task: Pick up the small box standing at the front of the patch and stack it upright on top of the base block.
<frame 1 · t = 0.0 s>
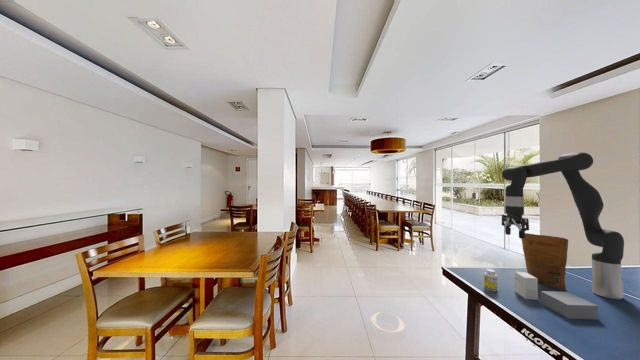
hand: (514, 236, 116), 29 cm above the table, fingers open, 8 cm apart
base block: (567, 311, 99), on the table
pancake mix bag: (544, 284, 126), on the table
supplement bottle: (490, 289, 119), on the table
small box: (525, 296, 113), on the table
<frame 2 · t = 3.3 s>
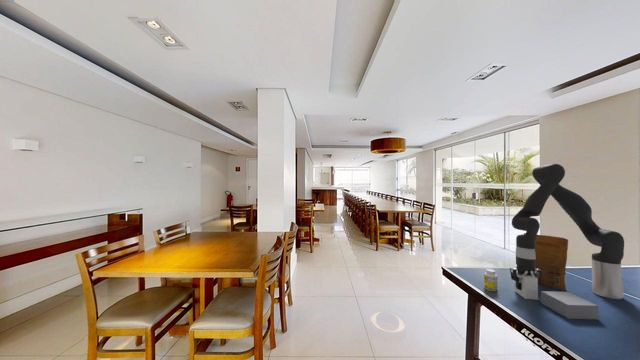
hand: (525, 289, 113), 3 cm above the table, fingers closed on small box, 6 cm apart
small box: (525, 296, 113), on the table, touching gripper
everything else where it was.
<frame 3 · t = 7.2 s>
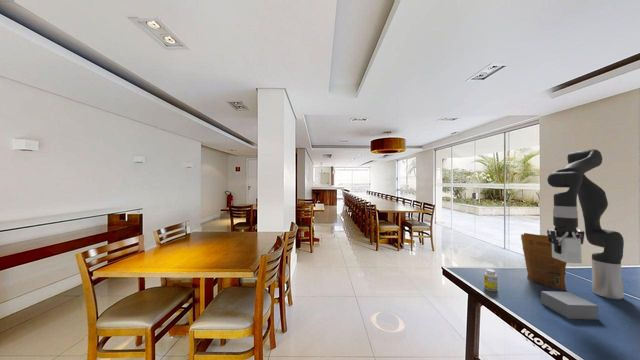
hand: (565, 253, 100), 25 cm above the table, fingers closed on small box, 6 cm apart
small box: (566, 260, 100), point 22 cm above the table, touching gripper
everything else where it was.
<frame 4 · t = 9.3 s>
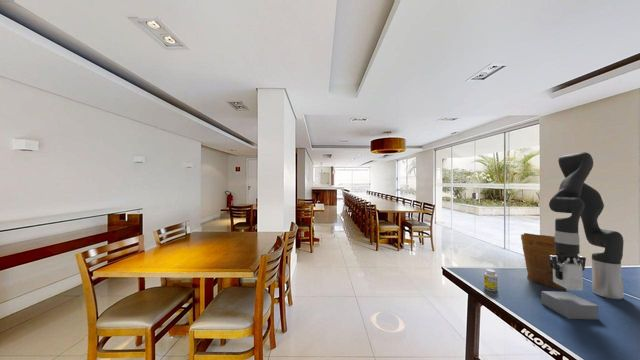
hand: (567, 279, 100), 14 cm above the table, fingers closed on small box, 6 cm apart
small box: (567, 286, 100), point 11 cm above the table, touching gripper
everything else where it was.
when the fingers open (11 cm above the table, at t = 10.9 s): small box drops 2 cm, resting on base block.
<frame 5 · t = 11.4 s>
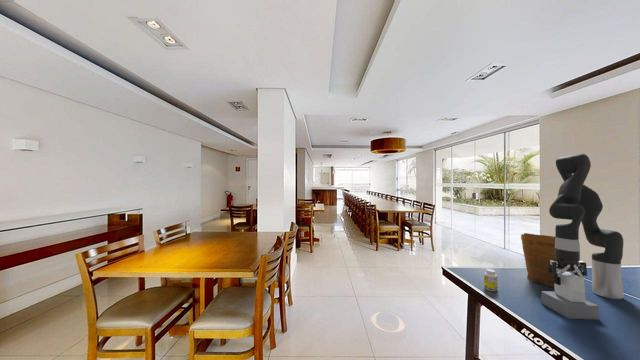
hand: (567, 284, 100), 12 cm above the table, fingers open, 8 cm apart
base block: (568, 311, 99), on the table, touching small box
small box: (569, 298, 99), point 5 cm above the table, touching base block
everything else where it was.
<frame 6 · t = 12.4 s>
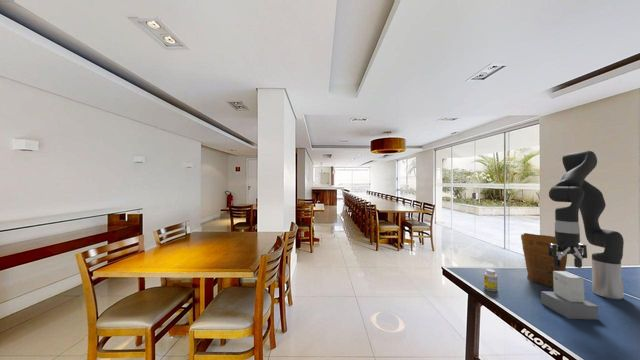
hand: (567, 267, 99), 19 cm above the table, fingers open, 8 cm apart
nothing on the table moved.
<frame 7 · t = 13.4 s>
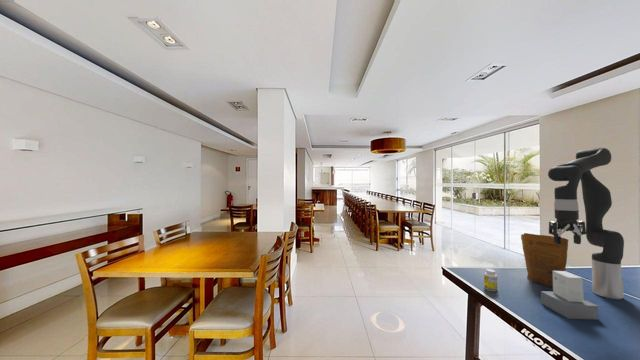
hand: (567, 243, 103), 29 cm above the table, fingers open, 8 cm apart
base block: (568, 311, 99), on the table
small box: (567, 298, 100), point 5 cm above the table
everything else where it was.
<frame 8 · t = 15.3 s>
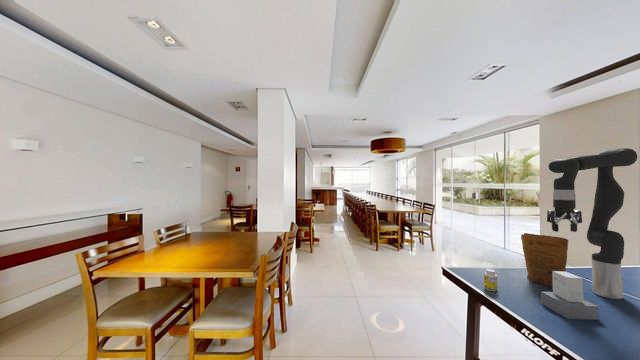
hand: (564, 231, 110), 33 cm above the table, fingers open, 8 cm apart
base block: (568, 312, 99), on the table, touching small box
small box: (567, 298, 99), point 5 cm above the table, touching base block
everything else where it was.
at the end: small box inside the target area on the base block (0.3 cm from its centre), point 5.8 cm above the base block's base; small box tilted 0°; base block moved 0.5 cm from its start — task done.
